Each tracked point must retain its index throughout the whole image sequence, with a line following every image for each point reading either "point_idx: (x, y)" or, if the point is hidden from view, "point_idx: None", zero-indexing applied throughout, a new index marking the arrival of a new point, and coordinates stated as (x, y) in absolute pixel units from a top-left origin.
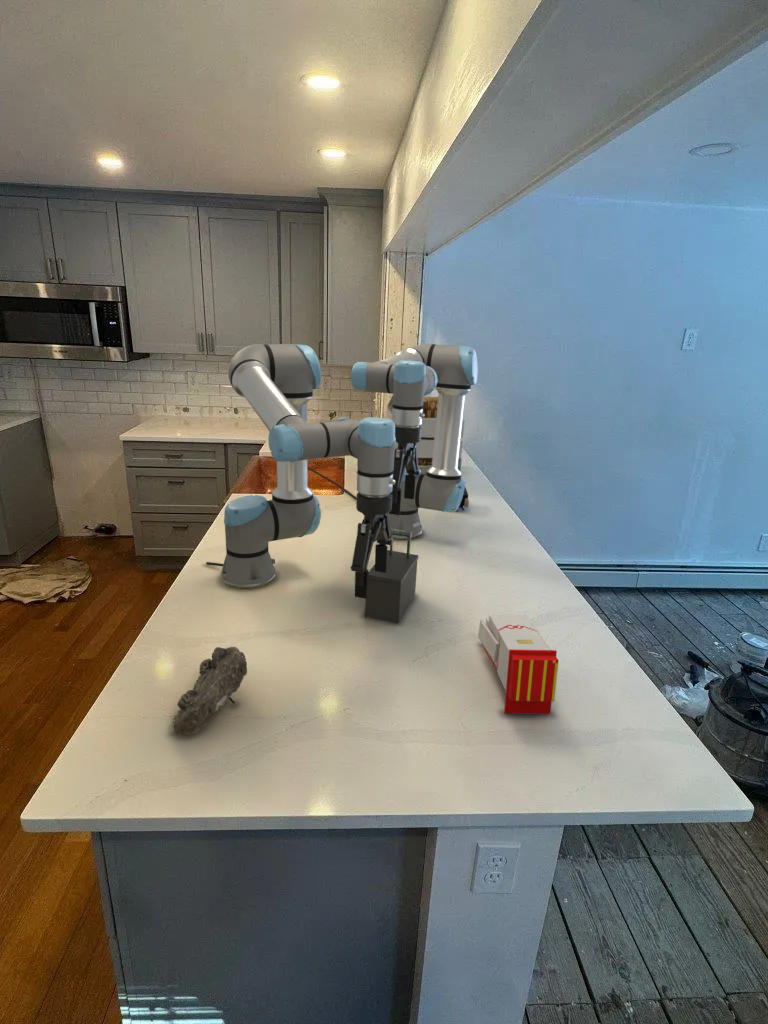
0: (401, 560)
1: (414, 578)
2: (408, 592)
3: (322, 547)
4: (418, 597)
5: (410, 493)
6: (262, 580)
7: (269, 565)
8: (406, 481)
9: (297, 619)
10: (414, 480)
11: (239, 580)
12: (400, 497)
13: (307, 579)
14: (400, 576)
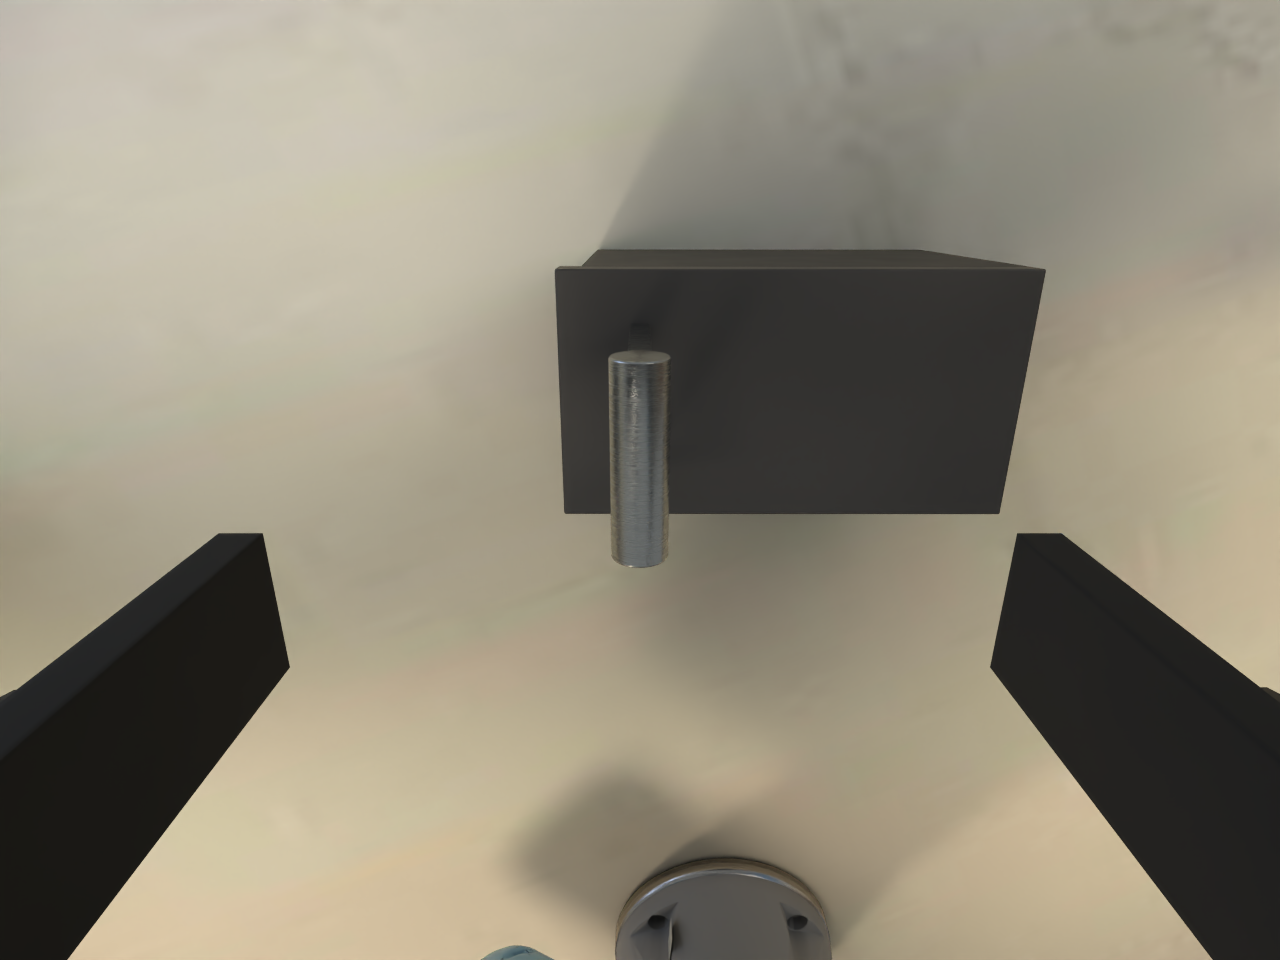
0: (704, 364)
1: (637, 257)
2: (768, 255)
3: (308, 821)
4: (611, 224)
5: (223, 633)
6: (781, 891)
7: (728, 931)
8: (100, 874)
9: (990, 664)
10: (4, 763)
11: (831, 954)
12: (1273, 711)
13: (646, 757)
14: (974, 294)
